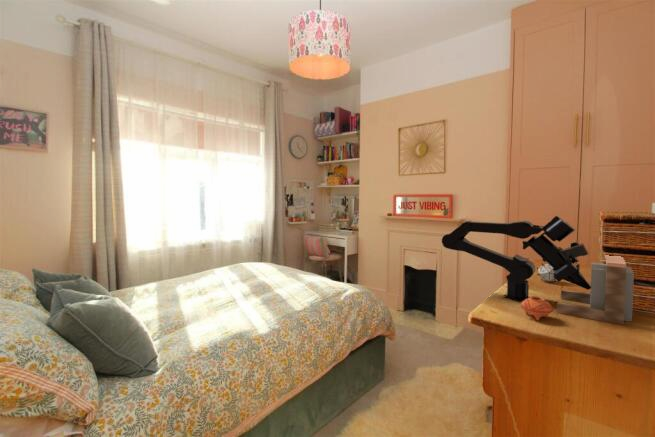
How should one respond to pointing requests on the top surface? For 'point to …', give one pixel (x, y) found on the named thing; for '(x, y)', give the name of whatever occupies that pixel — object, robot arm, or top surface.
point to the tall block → (600, 285)
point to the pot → (537, 307)
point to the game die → (546, 273)
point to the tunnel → (612, 295)
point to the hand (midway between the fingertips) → (589, 288)
